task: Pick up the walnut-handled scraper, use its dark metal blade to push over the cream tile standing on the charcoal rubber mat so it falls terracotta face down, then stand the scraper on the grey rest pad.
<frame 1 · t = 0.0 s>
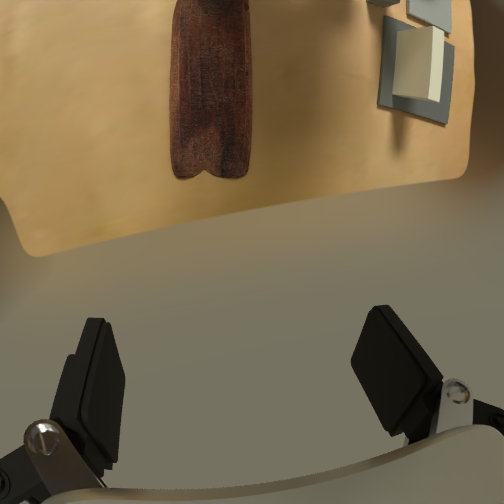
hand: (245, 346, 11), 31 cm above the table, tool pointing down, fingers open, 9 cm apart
wooden tablet: (211, 75, 33), on the table
rest pad: (428, 3, 30), on the table
rubber mat: (418, 71, 35), on the table
tile: (400, 63, 34), point 1 cm above the table, touching rubber mat
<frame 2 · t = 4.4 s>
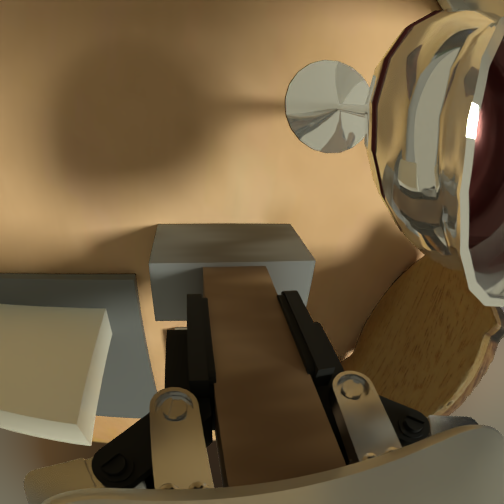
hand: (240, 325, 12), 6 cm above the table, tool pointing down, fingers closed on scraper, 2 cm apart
rubber mat: (60, 355, 19), on the table
wineglass: (330, 106, 14), on the table
tile: (40, 318, 16), point 1 cm above the table, touching rubber mat
scraper: (224, 249, 17), on the table, touching gripper
wooden carving: (384, 305, 22), on the table
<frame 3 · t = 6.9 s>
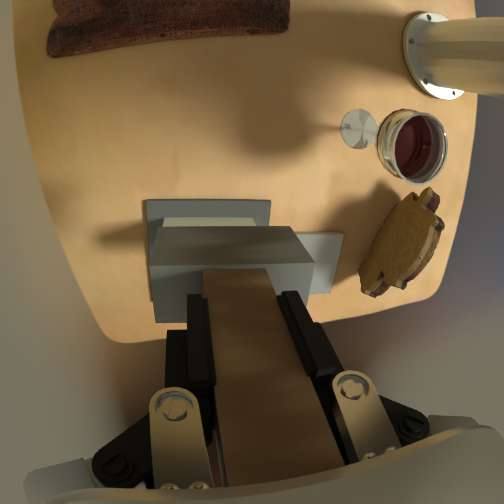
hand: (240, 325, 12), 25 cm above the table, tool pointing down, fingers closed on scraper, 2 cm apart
wooden tablet: (164, 3, 24), on the table
rest pad: (307, 263, 41), on the table
rubber mat: (207, 254, 38), on the table
wineglass: (358, 129, 34), on the table
tile: (208, 225, 35), point 1 cm above the table, touching rubber mat
scraper: (224, 251, 17), point 19 cm above the table, touching gripper
wooden carving: (384, 229, 41), on the table
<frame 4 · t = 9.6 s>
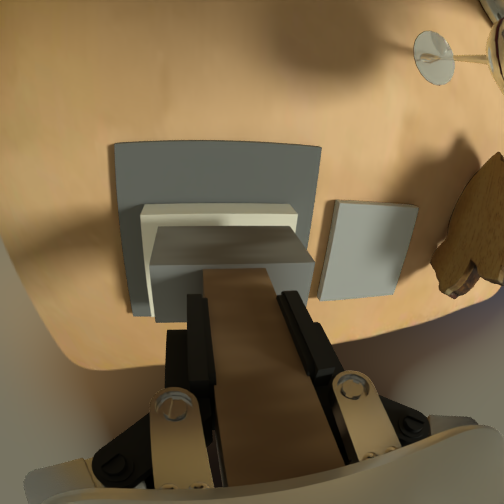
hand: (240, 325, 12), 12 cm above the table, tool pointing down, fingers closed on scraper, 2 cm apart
rest pad: (367, 250, 26), on the table
rubber mat: (216, 235, 23), on the table
wineglass: (434, 58, 19), on the table
tile: (219, 208, 20), point 2 cm above the table, tilted 90°, touching rubber mat
scraper: (224, 251, 17), point 6 cm above the table, touching gripper
wooden carving: (461, 203, 26), on the table
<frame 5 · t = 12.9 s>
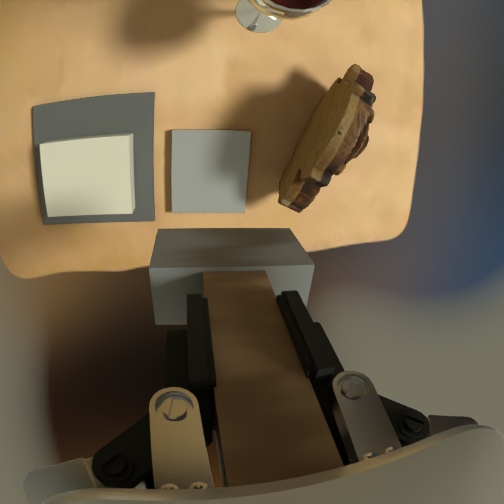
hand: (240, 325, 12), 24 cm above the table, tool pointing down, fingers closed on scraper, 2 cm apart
rest pad: (209, 170, 32), on the table
rubber mat: (91, 160, 29), on the table
wineglass: (259, 12, 25), on the table
tile: (84, 137, 26), point 2 cm above the table, tilted 90°, touching rubber mat
scraper: (224, 253, 17), point 18 cm above the table, touching gripper
wooden carving: (312, 131, 32), on the table
when the fingers open (8 cm above the table, at t = 15.9 s): scraper stays where it is, resting on rest pad.
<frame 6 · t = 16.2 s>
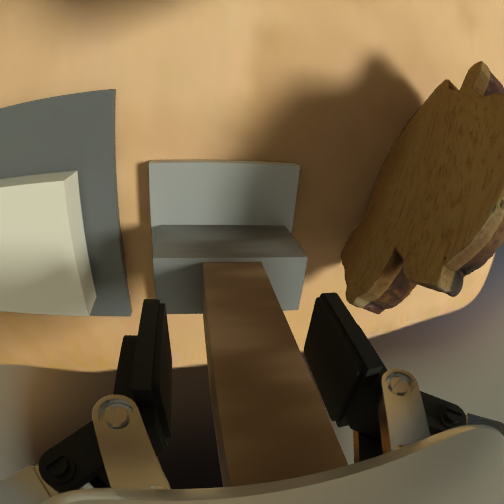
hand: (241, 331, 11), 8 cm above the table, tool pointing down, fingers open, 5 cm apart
rest pad: (221, 235, 18), on the table
rubber mat: (19, 217, 15), on the table
scraper: (222, 249, 18), point 1 cm above the table, touching rest pad
wooden carving: (394, 165, 18), on the table
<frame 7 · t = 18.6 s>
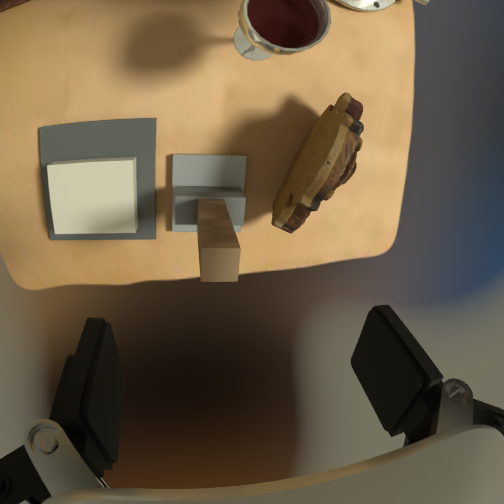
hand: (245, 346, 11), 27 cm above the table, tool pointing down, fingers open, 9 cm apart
rest pad: (207, 193, 35), on the table
rubber mat: (96, 181, 32), on the table
wineglass: (256, 40, 28), on the table
tile: (90, 160, 29), point 2 cm above the table, tilted 90°, touching rubber mat
scraper: (208, 199, 35), point 1 cm above the table, touching rest pad
wooden carving: (304, 155, 35), on the table
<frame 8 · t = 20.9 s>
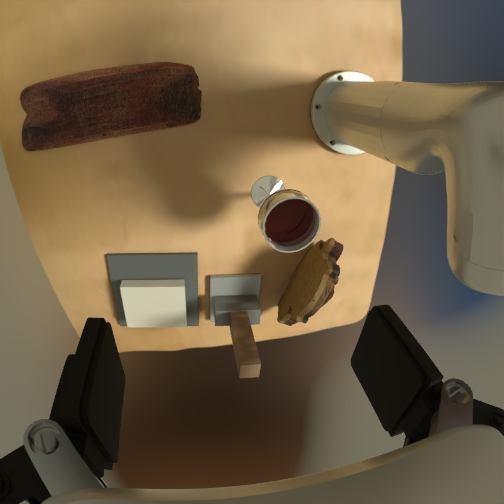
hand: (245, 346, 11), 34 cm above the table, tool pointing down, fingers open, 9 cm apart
wooden tablet: (104, 104, 35), on the table
rest pad: (234, 297, 52), on the table
rubber mat: (155, 291, 49), on the table
wineglass: (268, 192, 44), on the table
tile: (152, 283, 46), point 2 cm above the table, tilted 90°, touching rubber mat
scraper: (234, 302, 51), point 1 cm above the table, touching rest pad
wooden carving: (301, 269, 52), on the table
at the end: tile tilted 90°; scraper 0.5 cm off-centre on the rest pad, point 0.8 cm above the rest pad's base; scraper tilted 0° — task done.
